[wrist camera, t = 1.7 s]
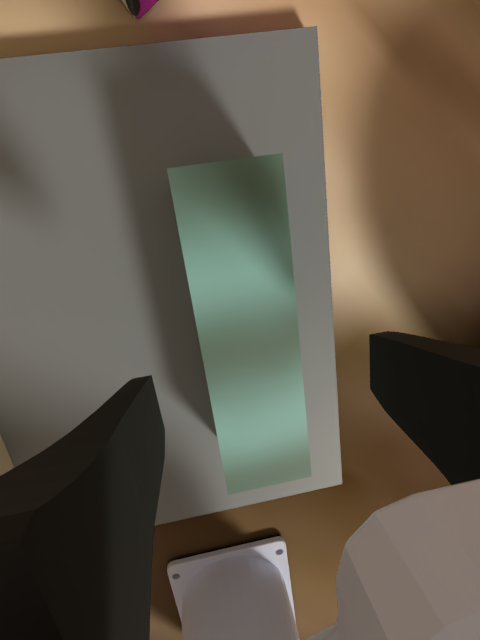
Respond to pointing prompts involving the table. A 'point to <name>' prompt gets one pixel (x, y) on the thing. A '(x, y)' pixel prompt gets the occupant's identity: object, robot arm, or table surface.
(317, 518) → the table surface
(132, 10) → the candy bar box
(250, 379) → the beam
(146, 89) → the board
